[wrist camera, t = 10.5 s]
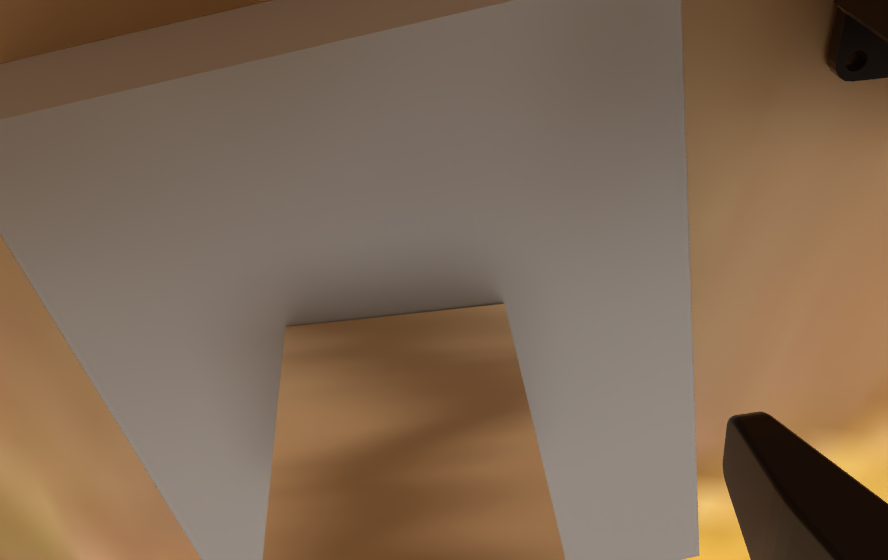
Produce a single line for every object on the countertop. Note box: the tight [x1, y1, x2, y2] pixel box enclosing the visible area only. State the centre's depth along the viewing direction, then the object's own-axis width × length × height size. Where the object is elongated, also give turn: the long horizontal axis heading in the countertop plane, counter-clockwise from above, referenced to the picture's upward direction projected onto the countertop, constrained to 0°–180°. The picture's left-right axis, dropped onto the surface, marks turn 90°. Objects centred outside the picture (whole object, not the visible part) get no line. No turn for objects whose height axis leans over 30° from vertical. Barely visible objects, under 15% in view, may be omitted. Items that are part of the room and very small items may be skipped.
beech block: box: [262, 304, 566, 560], centre depth 18 cm, size 5×5×7 cm
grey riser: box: [0, 0, 699, 560], centre depth 22 cm, size 14×18×4 cm
